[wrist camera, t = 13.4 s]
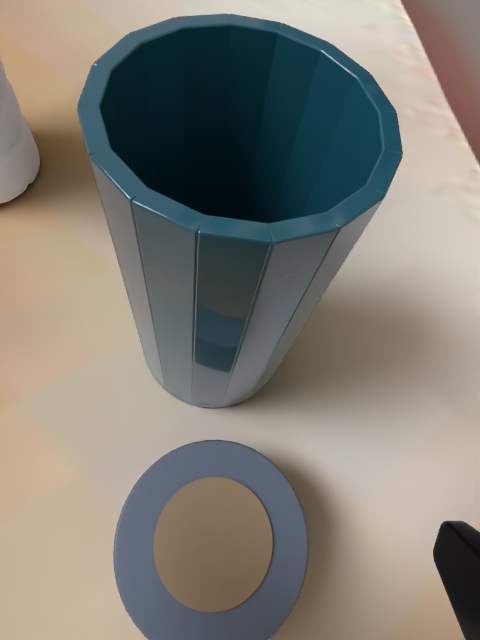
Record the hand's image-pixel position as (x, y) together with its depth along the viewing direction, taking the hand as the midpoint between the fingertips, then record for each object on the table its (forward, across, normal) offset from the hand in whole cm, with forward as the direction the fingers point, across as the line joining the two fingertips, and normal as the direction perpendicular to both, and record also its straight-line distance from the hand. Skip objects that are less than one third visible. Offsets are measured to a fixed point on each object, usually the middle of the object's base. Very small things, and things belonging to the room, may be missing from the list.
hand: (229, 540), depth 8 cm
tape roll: (+7, 0, +7) cm, 10 cm away
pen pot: (+12, 0, +1) cm, 13 cm away
